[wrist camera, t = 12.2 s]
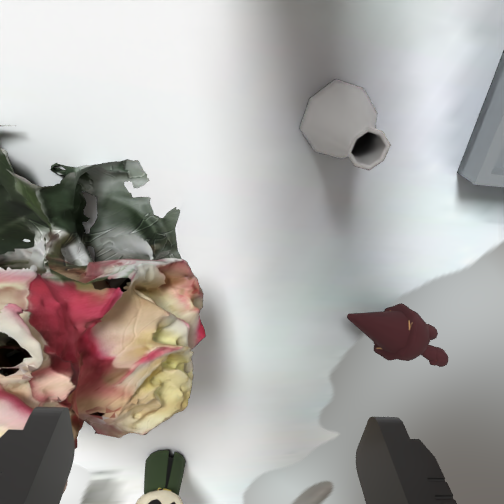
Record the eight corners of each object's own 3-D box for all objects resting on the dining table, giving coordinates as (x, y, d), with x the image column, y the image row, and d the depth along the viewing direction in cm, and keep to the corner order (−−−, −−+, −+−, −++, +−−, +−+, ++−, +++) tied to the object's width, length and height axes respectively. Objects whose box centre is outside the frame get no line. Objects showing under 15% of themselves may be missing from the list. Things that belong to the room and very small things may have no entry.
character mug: (205, 452, 65) (201, 544, 54) (190, 477, 68) (183, 568, 57) (139, 438, 62) (120, 531, 51) (126, 464, 66) (106, 557, 54)
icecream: (333, 357, 47) (428, 384, 52) (376, 325, 43) (474, 358, 48) (325, 309, 52) (412, 337, 57) (362, 275, 47) (453, 310, 53)
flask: (389, 110, 40) (435, 137, 31) (340, 169, 42) (370, 209, 34) (333, 63, 37) (366, 78, 28) (285, 129, 40) (302, 161, 31)
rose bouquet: (5, 348, 52) (-213, 680, 26) (-66, 113, 37) (-717, 337, 12) (206, 353, 54) (189, 660, 28) (214, 132, 40) (194, 355, 14)
